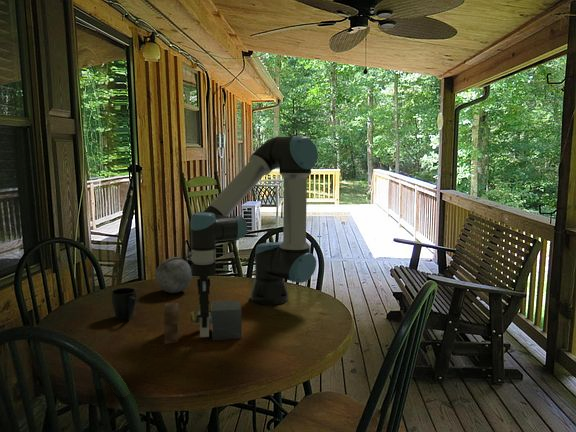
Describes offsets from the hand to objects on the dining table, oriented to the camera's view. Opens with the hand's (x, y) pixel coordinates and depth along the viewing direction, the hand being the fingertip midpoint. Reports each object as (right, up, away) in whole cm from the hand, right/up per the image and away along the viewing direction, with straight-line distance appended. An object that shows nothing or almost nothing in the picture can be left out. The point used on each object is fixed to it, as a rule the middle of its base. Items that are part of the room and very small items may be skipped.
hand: (204, 330), depth 143 cm
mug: (-30, 0, +14) cm, 33 cm away
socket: (-10, -2, -2) cm, 10 cm away
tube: (+3, +2, 0) cm, 4 cm away
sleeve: (+7, -2, +2) cm, 7 cm away
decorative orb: (-21, +4, +45) cm, 50 cm away
